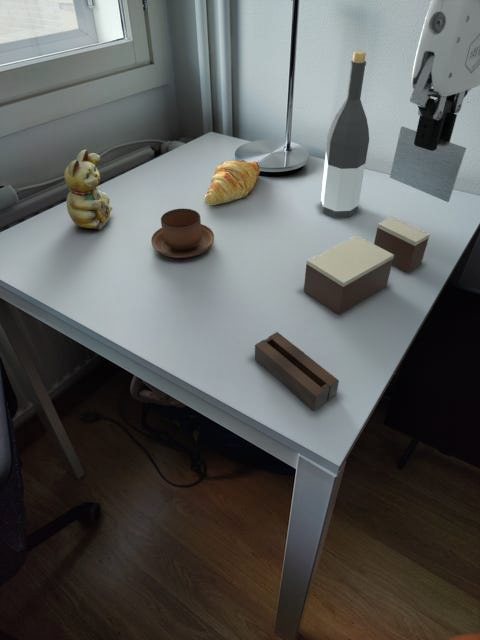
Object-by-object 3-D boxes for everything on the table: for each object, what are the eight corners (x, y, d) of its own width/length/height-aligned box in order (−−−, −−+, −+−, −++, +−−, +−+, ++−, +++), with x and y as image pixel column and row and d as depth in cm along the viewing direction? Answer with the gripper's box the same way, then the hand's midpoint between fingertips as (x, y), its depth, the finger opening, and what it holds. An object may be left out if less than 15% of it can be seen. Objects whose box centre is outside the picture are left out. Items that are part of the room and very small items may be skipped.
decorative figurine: (102, 236, 93) (85, 163, 83) (63, 234, 94) (41, 162, 84) (118, 212, 100) (103, 143, 90) (81, 211, 101) (63, 142, 91)
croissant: (218, 226, 102) (232, 200, 96) (184, 197, 102) (195, 170, 96) (265, 186, 115) (279, 162, 109) (234, 161, 115) (247, 135, 109)
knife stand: (336, 395, 62) (339, 380, 60) (313, 411, 60) (316, 396, 58) (276, 346, 69) (277, 331, 67) (254, 359, 67) (254, 344, 65)
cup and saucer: (153, 232, 94) (149, 204, 90) (212, 228, 95) (211, 200, 90) (151, 266, 85) (146, 236, 81) (216, 261, 86) (214, 232, 82)
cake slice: (421, 264, 84) (430, 234, 79) (407, 273, 82) (415, 242, 78) (385, 246, 88) (392, 216, 84) (371, 253, 87) (378, 223, 82)
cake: (386, 286, 79) (394, 254, 75) (338, 315, 74) (343, 283, 69) (351, 265, 84) (356, 234, 80) (303, 291, 78) (306, 259, 74)
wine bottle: (353, 221, 96) (380, 58, 76) (315, 214, 98) (331, 55, 78) (360, 203, 102) (386, 48, 82) (324, 198, 104) (341, 45, 84)
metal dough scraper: (452, 199, 64) (482, 109, 56) (444, 204, 63) (472, 112, 55) (394, 175, 70) (413, 90, 62) (386, 179, 69) (404, 93, 61)
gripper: (461, -16, 45) (418, 169, 57) (543, -28, 52) (489, 138, 64) (397, -20, 49) (370, 152, 61) (480, -31, 56) (441, 125, 68)
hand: (431, 144), depth 62 cm, fingers closed on metal dough scraper, 2 cm apart
